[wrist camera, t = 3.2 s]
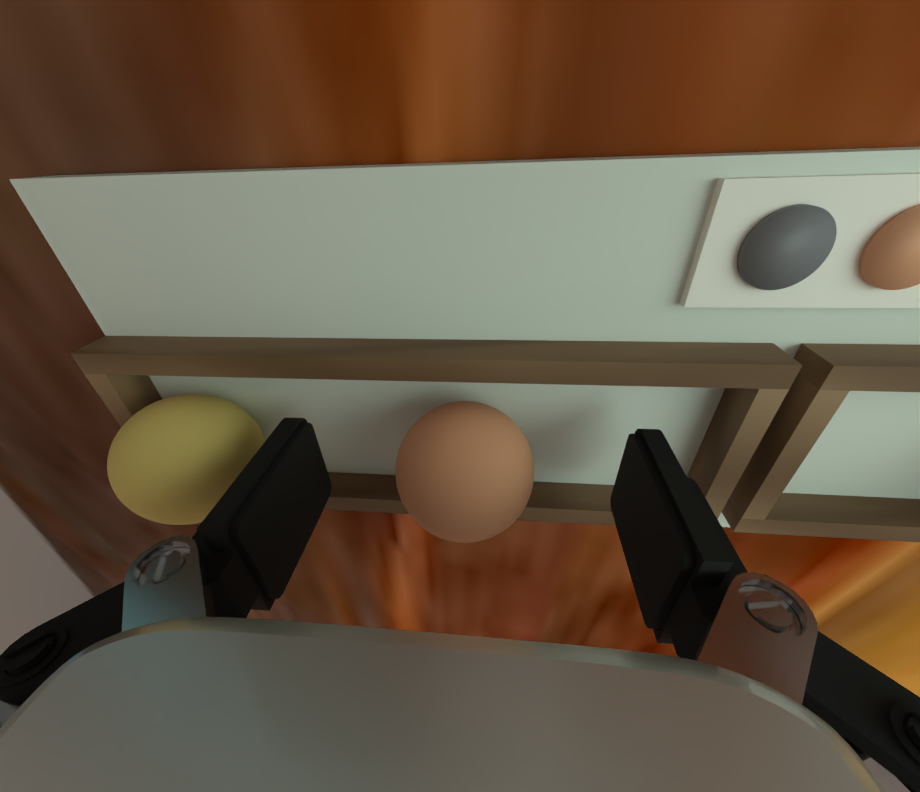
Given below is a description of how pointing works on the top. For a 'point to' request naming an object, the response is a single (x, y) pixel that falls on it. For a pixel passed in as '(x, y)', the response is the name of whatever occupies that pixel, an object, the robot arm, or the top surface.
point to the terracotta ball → (464, 471)
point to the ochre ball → (181, 456)
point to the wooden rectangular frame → (798, 430)
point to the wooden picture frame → (475, 361)
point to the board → (518, 286)
